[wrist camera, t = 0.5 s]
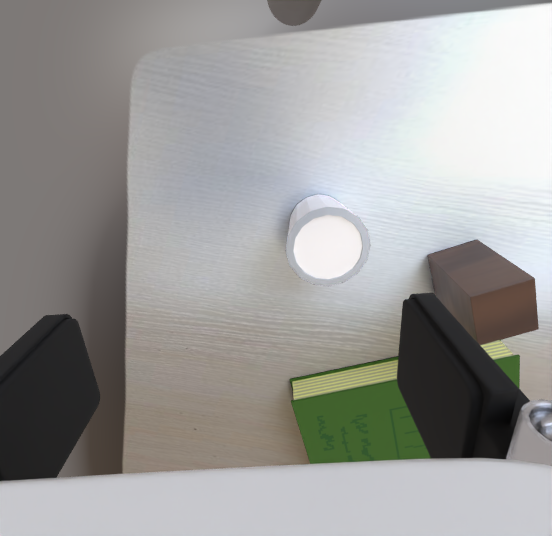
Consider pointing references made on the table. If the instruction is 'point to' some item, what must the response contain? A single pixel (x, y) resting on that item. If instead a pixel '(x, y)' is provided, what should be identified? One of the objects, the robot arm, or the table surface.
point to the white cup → (326, 241)
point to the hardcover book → (366, 411)
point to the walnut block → (484, 291)
